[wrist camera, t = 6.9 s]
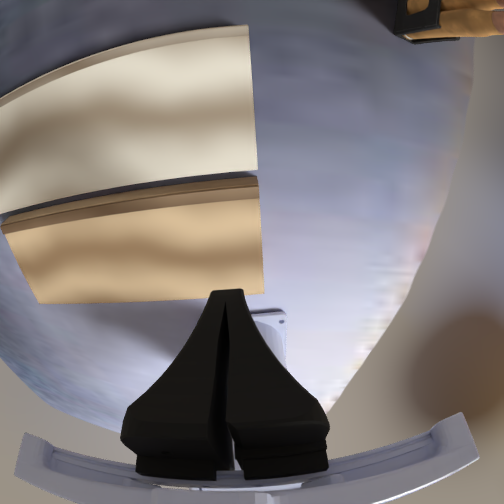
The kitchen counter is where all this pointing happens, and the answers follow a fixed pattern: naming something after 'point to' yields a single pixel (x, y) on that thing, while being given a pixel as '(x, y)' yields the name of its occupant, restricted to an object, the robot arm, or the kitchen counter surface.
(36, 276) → the laid plank
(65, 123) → the plank
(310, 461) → the robot arm
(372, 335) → the kitchen counter surface
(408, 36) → the ammunition clip
